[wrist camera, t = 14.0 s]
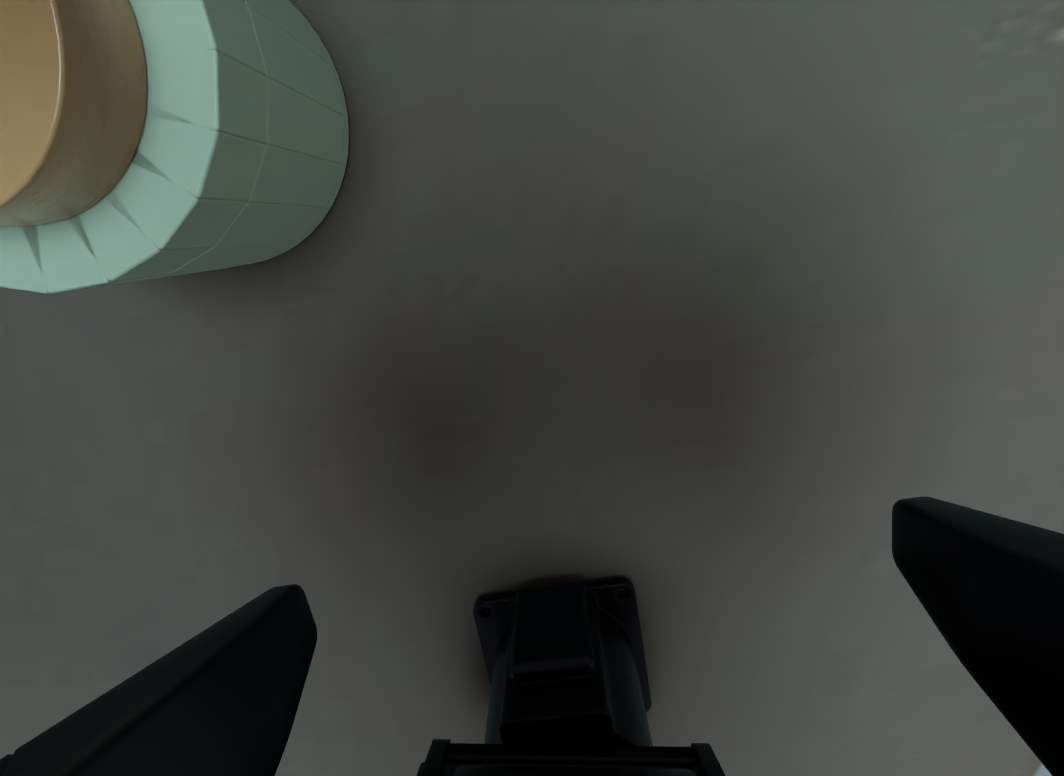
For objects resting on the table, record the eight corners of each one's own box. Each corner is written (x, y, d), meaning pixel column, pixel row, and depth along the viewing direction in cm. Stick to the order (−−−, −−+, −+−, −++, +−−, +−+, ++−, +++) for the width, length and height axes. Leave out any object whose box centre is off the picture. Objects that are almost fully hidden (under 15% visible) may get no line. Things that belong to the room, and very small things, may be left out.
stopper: (292, 203, 16) (123, 191, 9) (81, 243, 16) (-211, 257, 10) (217, -63, 14) (-52, -295, 8) (-17, -10, 14) (-450, -187, 8)
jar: (380, 240, 19) (276, 251, 12) (132, 286, 19) (-111, 323, 12) (303, -74, 16) (110, -306, 9) (22, -8, 17) (-363, -176, 10)
